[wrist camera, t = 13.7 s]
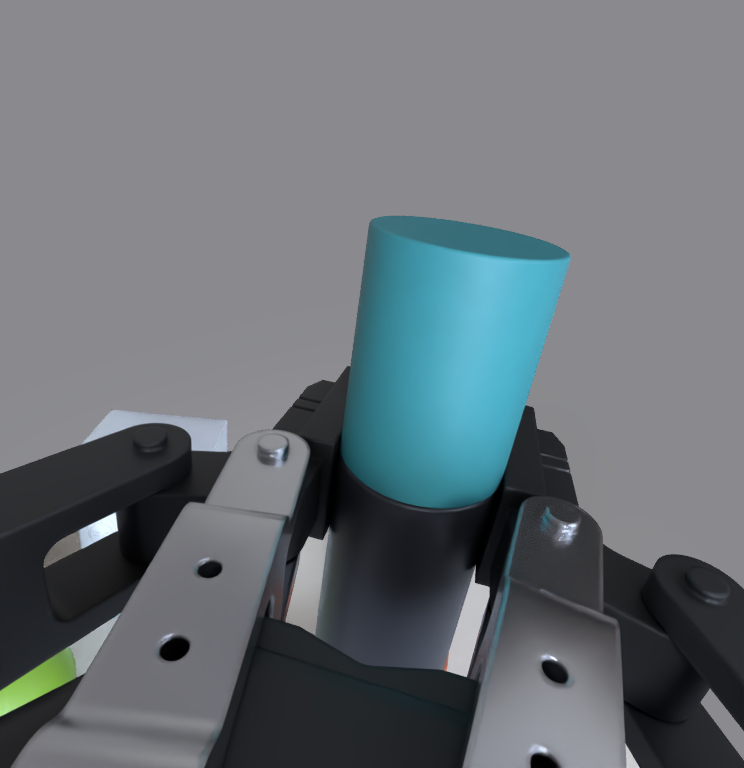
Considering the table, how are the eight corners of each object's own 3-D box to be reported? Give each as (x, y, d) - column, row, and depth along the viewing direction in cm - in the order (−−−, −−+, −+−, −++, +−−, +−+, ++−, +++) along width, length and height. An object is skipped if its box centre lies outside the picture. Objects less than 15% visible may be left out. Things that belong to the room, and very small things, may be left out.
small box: (228, 555, 41) (230, 418, 35) (208, 623, 35) (206, 473, 29) (125, 547, 40) (110, 406, 34) (87, 615, 34) (62, 460, 29)
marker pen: (277, 844, 13) (345, 229, 6) (313, 730, 16) (390, 209, 9) (386, 885, 13) (588, 273, 6) (405, 760, 16) (559, 238, 9)
